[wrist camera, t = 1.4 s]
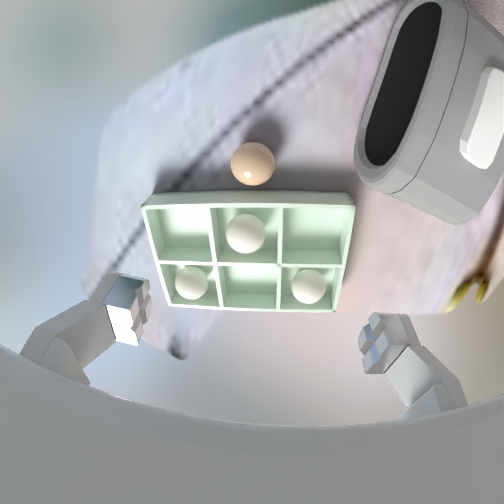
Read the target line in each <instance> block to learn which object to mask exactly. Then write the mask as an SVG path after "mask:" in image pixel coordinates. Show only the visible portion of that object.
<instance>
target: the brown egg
mask: <svg viewBox="0 0 504 504" xmlns="http://www.w3.org/2000/svg"><path fill="white" fill-rule="evenodd" d="M274 168H275V159H274V156H273V154H272V152H271V151H270V150H269V149H268V148H267V147H266V146H265V145H263V144H261V143H257V142H249V143H245V144H243V145H241V146H239V147H238V148H237V149H236V150H235V151H234V153H233V155H232V157H231V170H232V173H233V175H234V176H235V177H236V179H237V180H239V181H240V182H241V183H243V184H246V185H252V186H253V185H259V184H262V183H264V182H266V181H267V180H268V179H269V178H270V177H271V175H272V174H273V172H274Z"/></svg>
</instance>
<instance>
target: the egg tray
mask: <svg viewBox="0 0 504 504" xmlns="http://www.w3.org/2000/svg"><path fill="white" fill-rule="evenodd" d="M355 208H356V205H355V203H354V202H353V200H352V198H351V196H350V194H349V193H348V192H327V191H297V190H215V191H185V192H165V193H152V194H151V195H150V196H149V197H148V199H147V200H146V201H145V202H144V203H143V204H142V205H141V209H142V214H143V218H144V222H145V226H146V230H147V234H148V237H149V241H150V245H151V249H152V252H153V256H154V259H155V263H156V266H157V270H158V273H159V276H160V280H161V283H162V286H163V289H164V292H165V296H166V299H167V302H168V305H169V306H177V307H190V308H205V309H222V310H242V311H243V310H244V311H271V312H336V307H337V303H338V299H339V295H340V290H341V285H342V281H343V276H344V271H345V266H346V261H347V256H348V251H349V245H350V239H351V233H352V227H353V221H354V215H355ZM240 214H252V215H255V216H256V217H258V218H259V219H260V220H261V221H262V222H263V224H264V226H265V230H266V237H265V241H264V243H263V245H262V246H261V247H260V248H259V249H258V250H256V251H255V252H252V253H248V254H244V253H239V252H237V251H235V250H234V249H232V248H231V246H230V245H229V244H228V242H227V239H226V228H227V225H228V223H229V222H230V221H231V220H232V219H233V218H234V217H235V216H237V215H240ZM187 266H196V267H199V268H200V269H202V270H203V271H204V272H205V274H206V275H207V278H208V288H207V290H206V292H205V294H204V295H203V296H201V297H200V298H198V299H193V300H190V299H186V298H184V297H182V296H181V295H180V294H179V293H178V292H177V290H176V287H175V278H176V275H177V274H178V272H179V271H180V270H181V269H182V268H184V267H187ZM304 269H314V270H317V271H318V272H320V273H321V274H322V275H323V277H324V279H325V281H326V291H325V293H324V295H323V297H322V298H321V299H320V300H319V301H317V302H315V303H312V304H305V303H302V302H300V301H298V300H297V299H296V298H295V297H294V295H293V293H292V289H291V284H292V280H293V278H294V276H295V275H296V274H297V273H298V272H299V271H301V270H304Z"/></svg>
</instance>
